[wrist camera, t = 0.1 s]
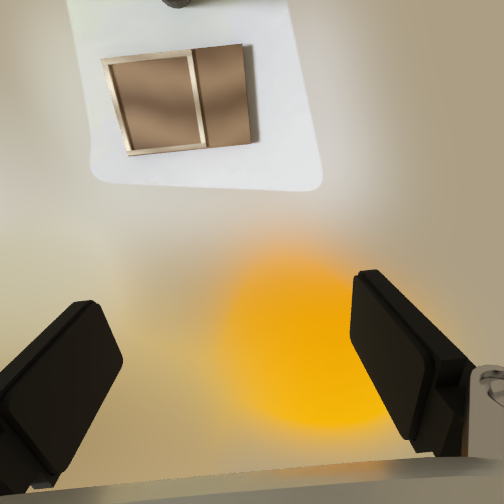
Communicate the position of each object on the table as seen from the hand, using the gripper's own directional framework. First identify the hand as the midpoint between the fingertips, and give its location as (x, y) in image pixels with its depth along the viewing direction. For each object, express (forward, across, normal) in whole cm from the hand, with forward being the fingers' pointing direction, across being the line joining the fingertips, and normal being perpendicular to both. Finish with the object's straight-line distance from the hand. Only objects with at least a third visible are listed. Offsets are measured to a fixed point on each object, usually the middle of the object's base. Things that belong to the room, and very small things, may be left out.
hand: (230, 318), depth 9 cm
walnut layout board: (+31, +6, -11) cm, 34 cm away
